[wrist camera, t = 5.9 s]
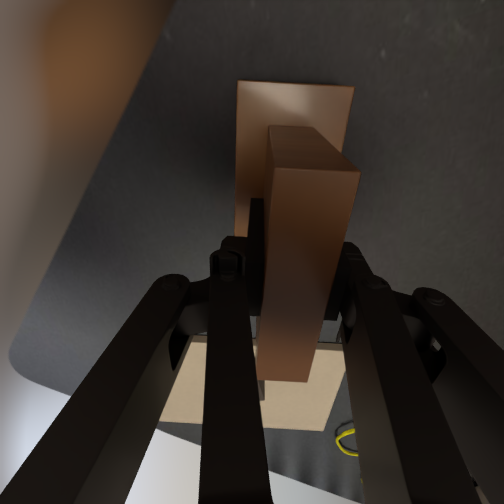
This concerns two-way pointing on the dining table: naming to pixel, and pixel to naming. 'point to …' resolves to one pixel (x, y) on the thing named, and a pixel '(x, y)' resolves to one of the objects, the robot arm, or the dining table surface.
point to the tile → (276, 392)
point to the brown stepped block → (294, 210)
